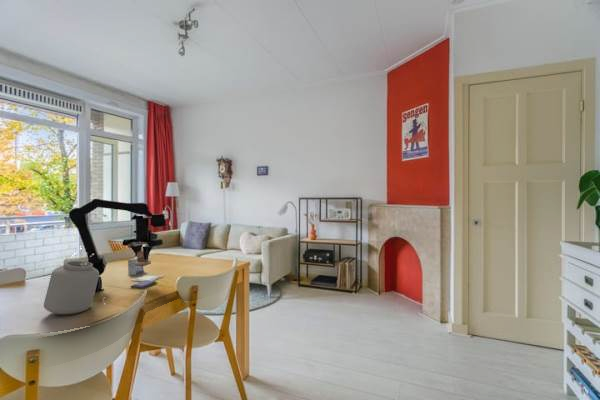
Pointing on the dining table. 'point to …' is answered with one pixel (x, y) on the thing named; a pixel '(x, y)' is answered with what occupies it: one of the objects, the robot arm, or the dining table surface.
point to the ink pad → (143, 284)
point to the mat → (147, 278)
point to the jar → (71, 288)
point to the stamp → (141, 259)
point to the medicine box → (134, 267)
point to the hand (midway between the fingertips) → (142, 259)
